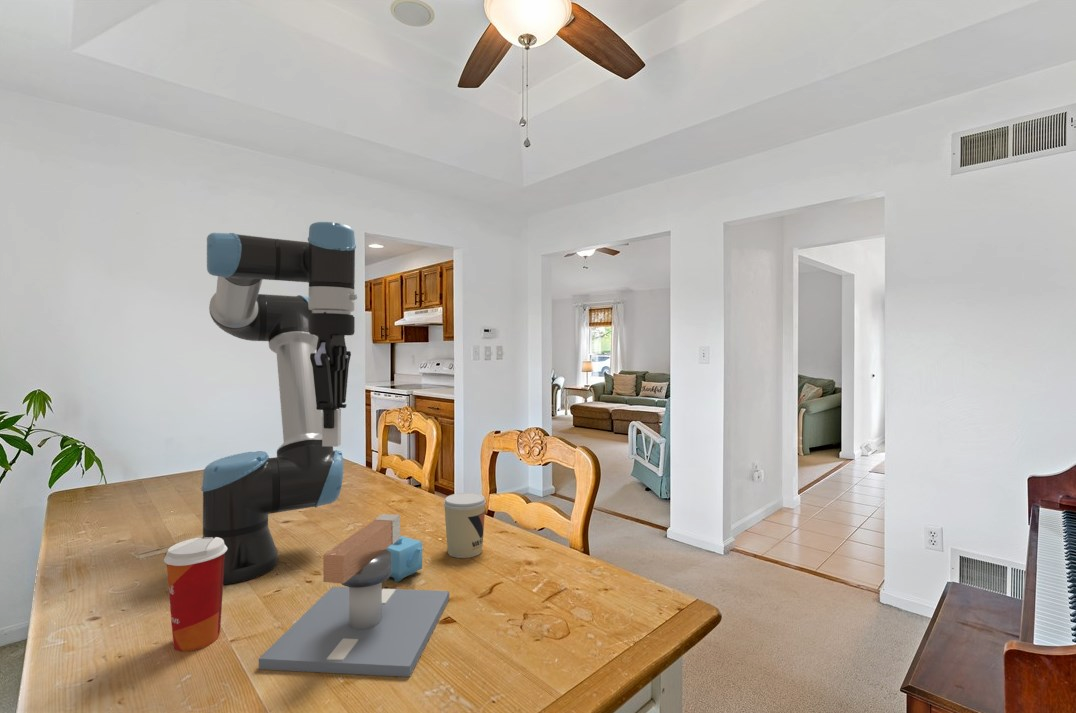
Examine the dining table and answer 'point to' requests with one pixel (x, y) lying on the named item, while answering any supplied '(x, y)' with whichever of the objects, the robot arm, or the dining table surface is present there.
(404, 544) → the teapot
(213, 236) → the robot arm
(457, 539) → the coffee cup
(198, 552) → the coffee cup
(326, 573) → the t handle
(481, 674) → the dining table surface
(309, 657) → the striped base plate
